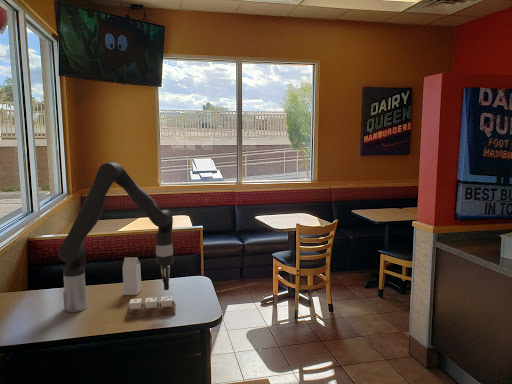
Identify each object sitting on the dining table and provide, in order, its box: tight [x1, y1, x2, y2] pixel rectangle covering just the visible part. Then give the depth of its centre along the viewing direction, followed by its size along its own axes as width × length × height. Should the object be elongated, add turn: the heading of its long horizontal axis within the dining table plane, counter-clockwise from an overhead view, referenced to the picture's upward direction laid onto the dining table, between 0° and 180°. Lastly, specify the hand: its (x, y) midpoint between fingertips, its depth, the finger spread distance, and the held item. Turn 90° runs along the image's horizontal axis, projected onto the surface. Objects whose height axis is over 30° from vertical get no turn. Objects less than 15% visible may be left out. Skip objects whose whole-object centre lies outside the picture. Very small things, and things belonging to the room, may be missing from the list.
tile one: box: [128, 297, 143, 310], centre depth 185 cm, size 5×5×3 cm
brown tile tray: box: [125, 300, 177, 320], centre depth 186 cm, size 22×10×3 cm, turn 100°
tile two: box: [144, 296, 158, 308], centre depth 186 cm, size 5×5×3 cm
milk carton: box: [121, 257, 142, 296], centre depth 210 cm, size 7×7×19 cm
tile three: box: [160, 295, 173, 307], centre depth 187 cm, size 5×5×3 cm
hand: (166, 289), depth 186 cm, fingers closed
